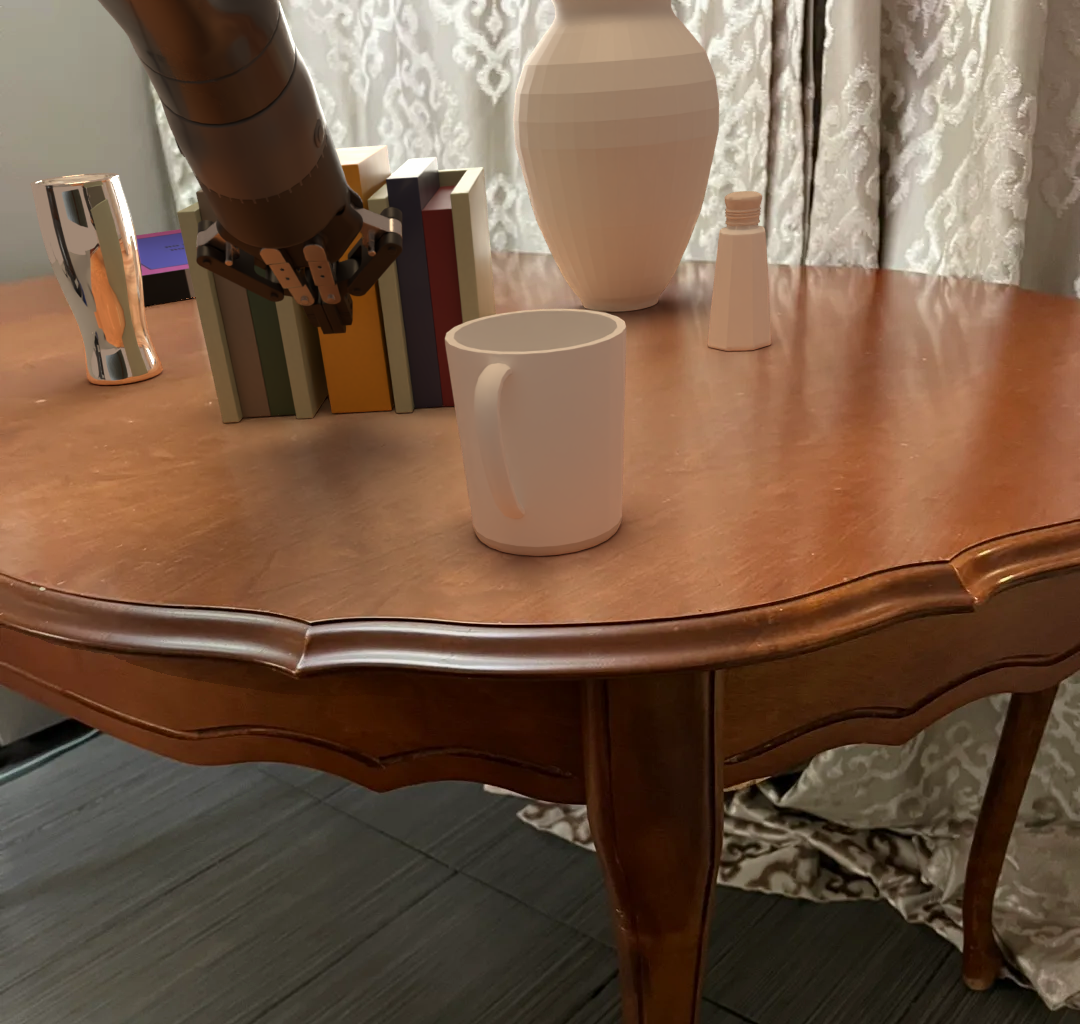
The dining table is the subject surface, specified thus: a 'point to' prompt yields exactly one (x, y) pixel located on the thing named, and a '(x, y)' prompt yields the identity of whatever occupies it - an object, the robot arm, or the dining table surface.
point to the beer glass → (98, 272)
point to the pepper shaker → (741, 279)
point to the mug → (541, 426)
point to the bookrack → (405, 289)
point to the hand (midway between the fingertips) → (335, 321)
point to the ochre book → (360, 311)
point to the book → (164, 267)
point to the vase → (616, 145)
